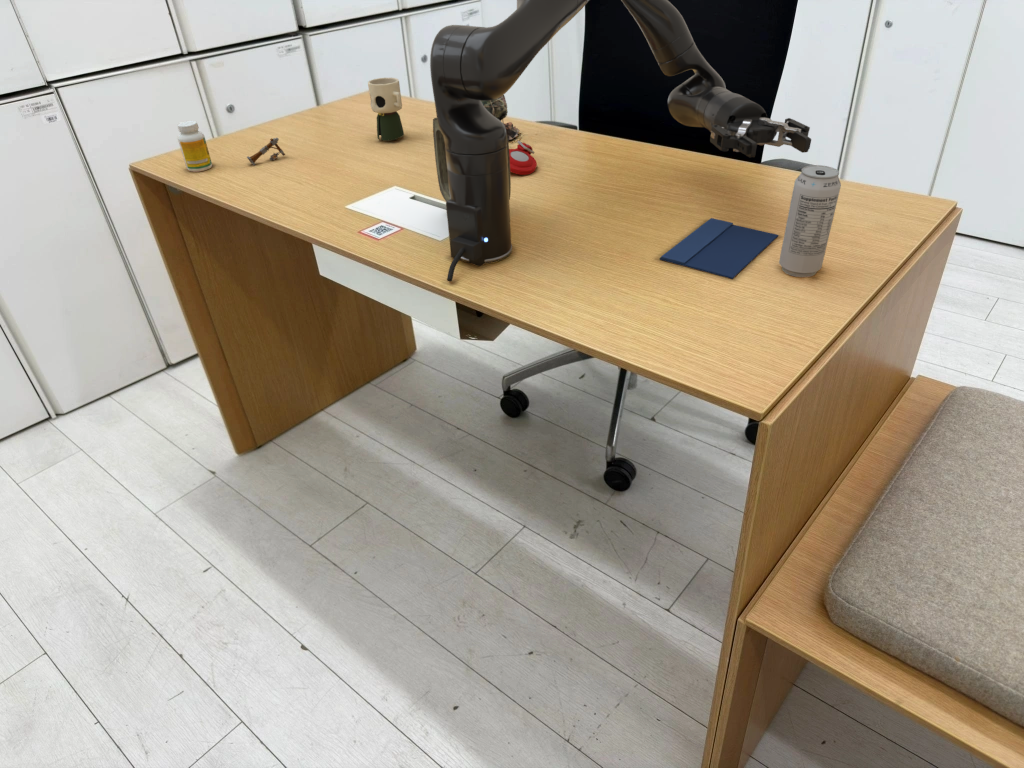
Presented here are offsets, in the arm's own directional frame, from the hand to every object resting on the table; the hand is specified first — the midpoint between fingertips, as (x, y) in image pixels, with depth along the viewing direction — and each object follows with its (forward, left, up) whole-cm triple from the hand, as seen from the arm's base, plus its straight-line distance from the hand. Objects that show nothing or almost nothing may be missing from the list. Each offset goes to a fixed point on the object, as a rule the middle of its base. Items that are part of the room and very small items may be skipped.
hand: (780, 148), depth 106 cm
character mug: (+8, +94, -15) cm, 95 cm away
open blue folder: (-6, +5, -15) cm, 17 cm away
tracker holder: (+8, +56, -15) cm, 58 cm away
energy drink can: (-7, -8, -15) cm, 19 cm away
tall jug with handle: (-19, +45, -15) cm, 51 cm away
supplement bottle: (-29, +116, -15) cm, 120 cm away
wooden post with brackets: (-18, +107, -15) cm, 109 cm away
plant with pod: (+22, +72, -15) cm, 76 cm away
